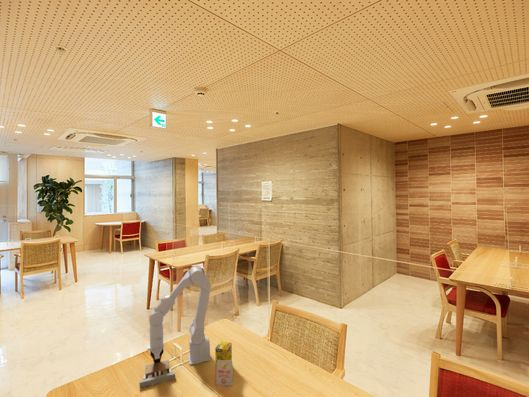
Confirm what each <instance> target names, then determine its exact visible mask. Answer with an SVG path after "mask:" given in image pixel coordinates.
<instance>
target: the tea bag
mask: <svg viewBox="0 0 529 397" xmlns="http://www.w3.org/2000/svg"><path fill="white" fill-rule="evenodd" d="M214 372H215V373H214V375H215V377H214V379H215V382H214V383H215V384H214V386H215V387H228V386H229V387H228V388H230V387H232V386H233V382H234V364H233V359H232V360H216V362H215V371H214Z"/></svg>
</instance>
